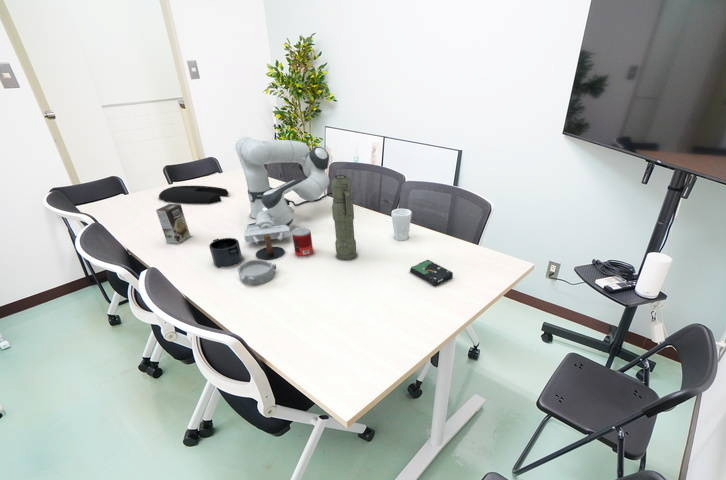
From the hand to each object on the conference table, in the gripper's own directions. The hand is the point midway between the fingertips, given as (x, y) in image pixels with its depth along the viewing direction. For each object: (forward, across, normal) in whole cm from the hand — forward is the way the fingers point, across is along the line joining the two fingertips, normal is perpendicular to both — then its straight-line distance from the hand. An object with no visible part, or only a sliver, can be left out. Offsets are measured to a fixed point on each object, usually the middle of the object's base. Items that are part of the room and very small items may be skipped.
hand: (268, 240), depth 174 cm
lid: (+4, 0, -4) cm, 6 cm away
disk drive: (+44, -60, -6) cm, 75 cm away
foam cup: (+6, -61, -6) cm, 61 cm away
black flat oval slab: (-90, +39, -5) cm, 98 cm away
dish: (+23, +7, -5) cm, 24 cm away
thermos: (+16, -31, -5) cm, 36 cm away
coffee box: (-26, +40, -5) cm, 48 cm away
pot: (+5, +18, -5) cm, 19 cm away
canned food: (+8, -14, -5) cm, 17 cm away
